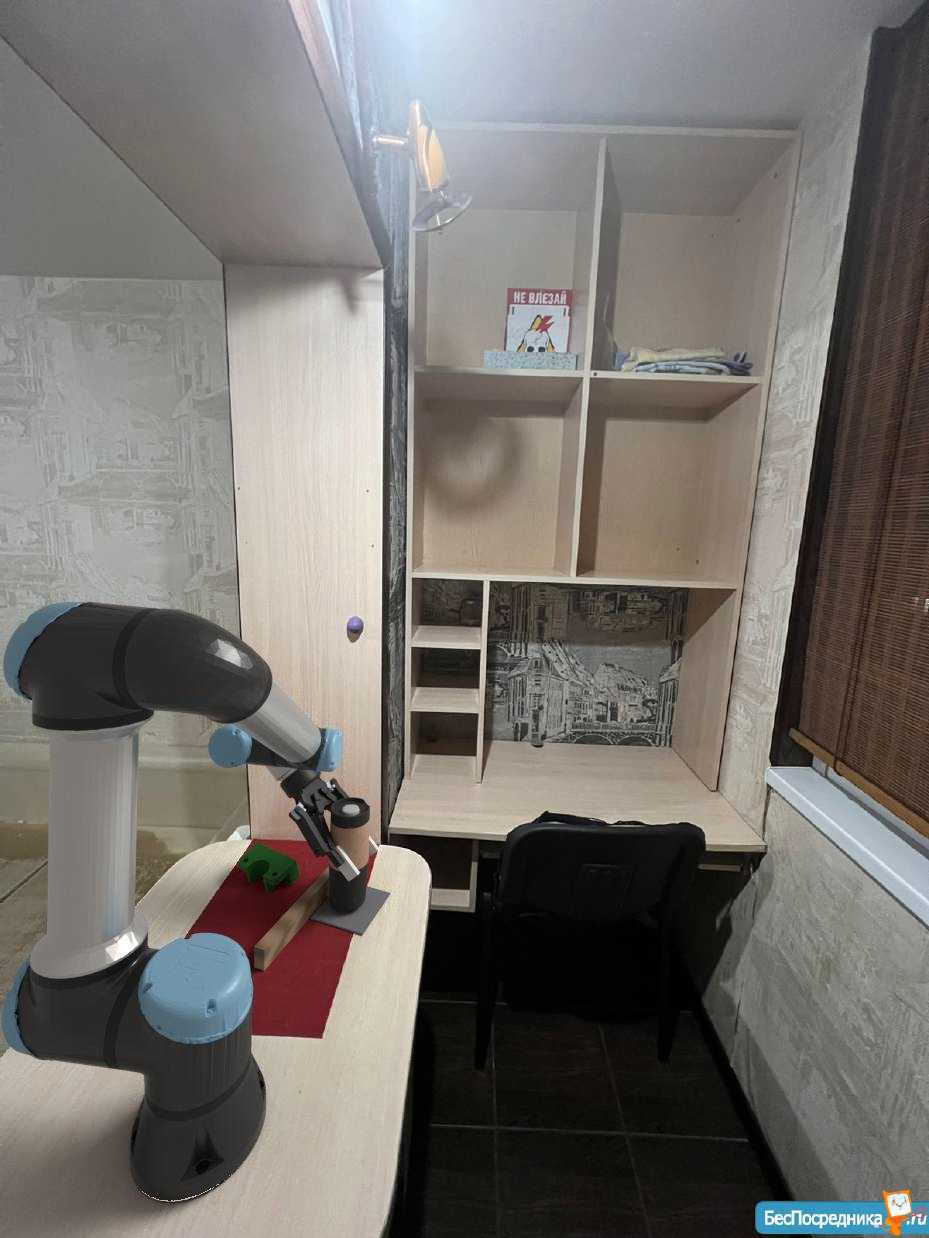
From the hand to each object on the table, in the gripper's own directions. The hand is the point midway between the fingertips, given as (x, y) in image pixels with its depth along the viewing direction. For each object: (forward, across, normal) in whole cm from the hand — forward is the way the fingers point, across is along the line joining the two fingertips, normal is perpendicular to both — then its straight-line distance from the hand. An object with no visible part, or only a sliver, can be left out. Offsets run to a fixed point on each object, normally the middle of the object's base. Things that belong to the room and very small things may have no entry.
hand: (364, 864), depth 102 cm
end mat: (+5, 0, -9) cm, 10 cm away
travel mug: (+4, 0, -9) cm, 9 cm away
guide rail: (0, +6, -14) cm, 15 cm away
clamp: (-8, 0, -23) cm, 25 cm away
